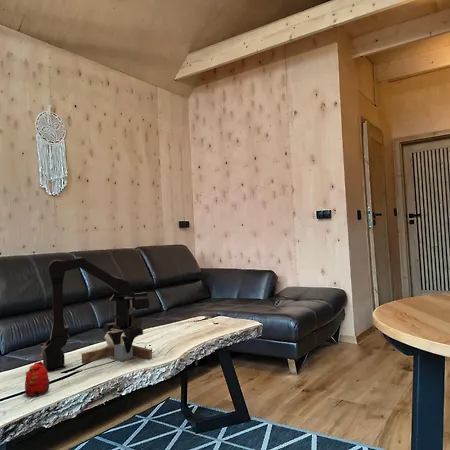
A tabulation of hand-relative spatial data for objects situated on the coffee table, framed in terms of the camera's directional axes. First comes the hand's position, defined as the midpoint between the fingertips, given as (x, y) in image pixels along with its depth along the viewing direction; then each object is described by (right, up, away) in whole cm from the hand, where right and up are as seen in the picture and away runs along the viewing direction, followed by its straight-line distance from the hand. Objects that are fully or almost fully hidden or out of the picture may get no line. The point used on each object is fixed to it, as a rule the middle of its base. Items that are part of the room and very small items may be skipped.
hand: (123, 351), depth 164 cm
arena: (-2, -3, -3) cm, 4 cm away
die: (-8, -4, +19) cm, 21 cm away
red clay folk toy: (-18, -3, -35) cm, 39 cm away
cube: (0, -3, 0) cm, 3 cm away
